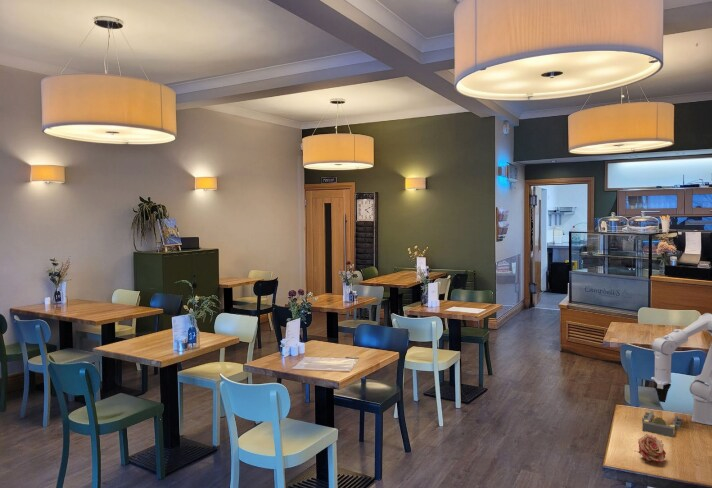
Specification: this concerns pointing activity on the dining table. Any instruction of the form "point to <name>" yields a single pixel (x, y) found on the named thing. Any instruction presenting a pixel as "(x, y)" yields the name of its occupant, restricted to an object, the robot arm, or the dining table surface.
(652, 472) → the dining table surface
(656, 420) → the lime
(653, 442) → the flower
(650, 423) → the grey u-shaped block
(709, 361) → the robot arm
